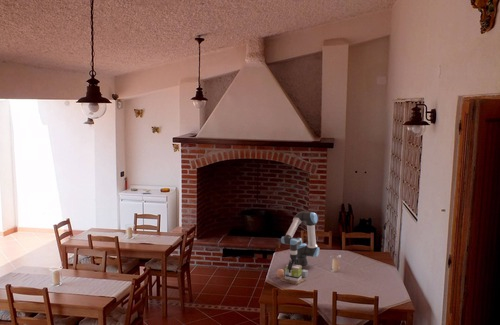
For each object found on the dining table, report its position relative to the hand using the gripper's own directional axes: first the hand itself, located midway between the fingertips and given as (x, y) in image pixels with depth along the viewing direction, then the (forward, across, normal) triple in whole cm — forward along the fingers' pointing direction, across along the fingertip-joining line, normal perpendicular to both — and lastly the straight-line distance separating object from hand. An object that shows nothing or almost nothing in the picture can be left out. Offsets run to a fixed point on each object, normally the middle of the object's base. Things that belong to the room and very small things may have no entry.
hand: (293, 273), depth 468 cm
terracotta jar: (+7, +1, -16) cm, 18 cm away
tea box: (+6, 0, 0) cm, 6 cm away
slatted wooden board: (+7, 0, 0) cm, 7 cm away
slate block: (+7, -18, +2) cm, 20 cm away
